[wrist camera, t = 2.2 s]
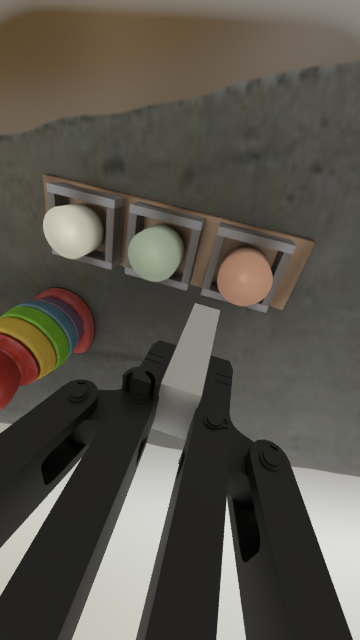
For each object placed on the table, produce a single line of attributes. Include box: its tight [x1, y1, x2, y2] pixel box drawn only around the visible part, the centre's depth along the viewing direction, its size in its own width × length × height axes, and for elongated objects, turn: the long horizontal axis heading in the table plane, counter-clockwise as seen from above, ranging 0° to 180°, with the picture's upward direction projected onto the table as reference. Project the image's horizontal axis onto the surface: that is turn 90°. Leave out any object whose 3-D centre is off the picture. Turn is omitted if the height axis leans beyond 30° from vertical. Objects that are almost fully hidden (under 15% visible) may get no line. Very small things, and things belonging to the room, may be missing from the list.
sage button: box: [128, 224, 184, 282], centre depth 25 cm, size 5×5×3 cm
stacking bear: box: [0, 288, 94, 410], centre depth 30 cm, size 11×10×18 cm
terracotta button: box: [217, 247, 273, 306], centre depth 24 cm, size 5×5×3 cm
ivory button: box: [43, 203, 104, 259], centre depth 26 cm, size 5×5×3 cm
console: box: [43, 174, 316, 313], centre depth 27 cm, size 30×8×4 cm, turn 78°
